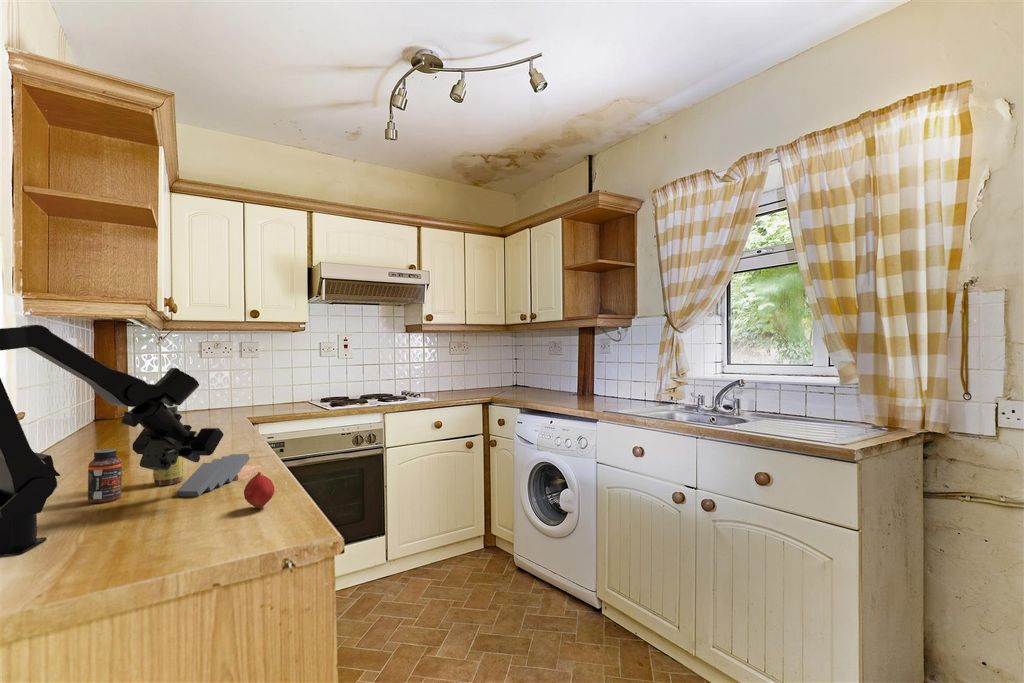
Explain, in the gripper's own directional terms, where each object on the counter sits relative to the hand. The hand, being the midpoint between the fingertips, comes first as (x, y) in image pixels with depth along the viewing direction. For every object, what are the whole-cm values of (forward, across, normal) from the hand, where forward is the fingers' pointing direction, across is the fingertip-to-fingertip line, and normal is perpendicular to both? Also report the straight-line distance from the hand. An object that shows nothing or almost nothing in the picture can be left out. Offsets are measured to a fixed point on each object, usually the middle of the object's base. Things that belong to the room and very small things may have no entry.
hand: (197, 460), depth 118 cm
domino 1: (+2, 0, -7) cm, 8 cm away
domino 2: (+5, 0, -4) cm, 7 cm away
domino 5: (+13, 0, +3) cm, 13 cm away
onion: (-1, +22, -12) cm, 25 cm away
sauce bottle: (+10, -14, -1) cm, 17 cm away
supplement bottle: (0, -17, -11) cm, 20 cm away
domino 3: (+8, 0, -2) cm, 8 cm away
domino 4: (+10, 0, +1) cm, 10 cm away
